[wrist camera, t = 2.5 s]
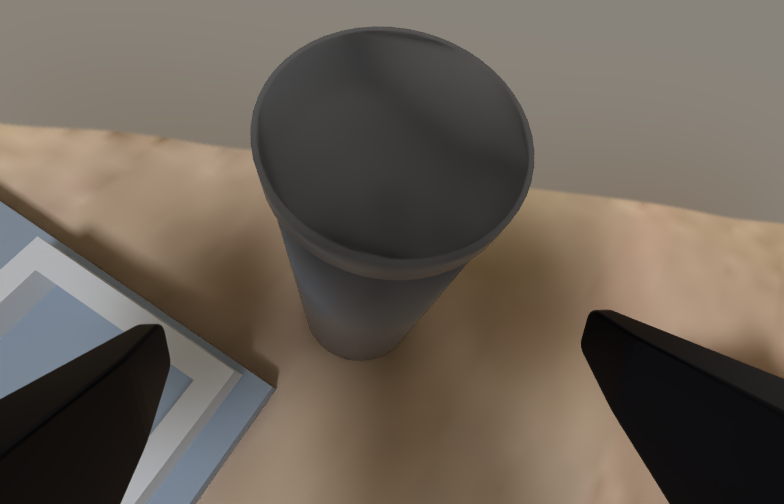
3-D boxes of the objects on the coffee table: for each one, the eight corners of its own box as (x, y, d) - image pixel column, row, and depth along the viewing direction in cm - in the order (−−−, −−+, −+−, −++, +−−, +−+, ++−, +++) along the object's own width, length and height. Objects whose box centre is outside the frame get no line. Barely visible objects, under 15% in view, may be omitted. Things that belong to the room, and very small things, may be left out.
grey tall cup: (418, 360, 19) (559, 263, 7) (302, 365, 18) (239, 267, 6) (410, 252, 21) (509, 31, 9) (304, 253, 20) (259, 15, 8)
